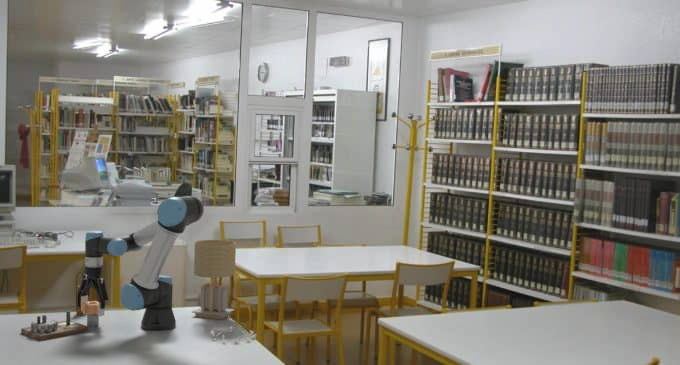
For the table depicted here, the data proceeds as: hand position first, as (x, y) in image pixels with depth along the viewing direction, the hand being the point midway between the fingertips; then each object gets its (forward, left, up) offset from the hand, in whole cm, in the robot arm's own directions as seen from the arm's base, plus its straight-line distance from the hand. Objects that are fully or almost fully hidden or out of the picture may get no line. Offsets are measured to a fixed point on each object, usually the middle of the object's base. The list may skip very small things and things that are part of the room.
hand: (92, 313), depth 335 cm
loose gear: (0, 0, 0) cm, 1 cm away
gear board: (0, +18, -6) cm, 19 cm away
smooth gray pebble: (0, 0, -6) cm, 6 cm away
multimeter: (+22, -12, -6) cm, 26 cm away
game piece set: (-58, -32, -6) cm, 67 cm away
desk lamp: (-21, -52, -6) cm, 57 cm away
